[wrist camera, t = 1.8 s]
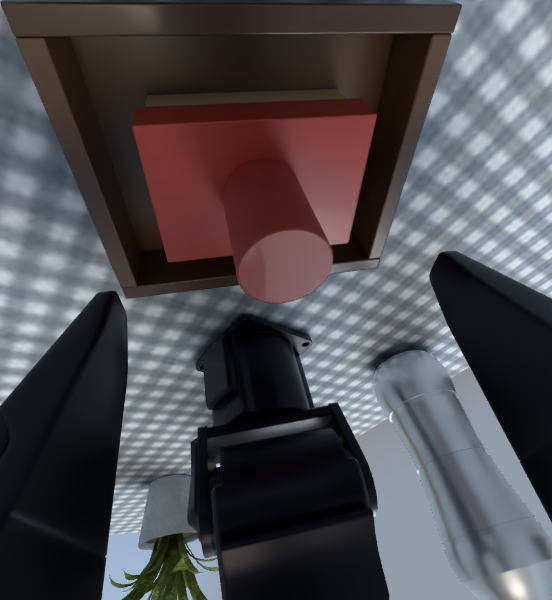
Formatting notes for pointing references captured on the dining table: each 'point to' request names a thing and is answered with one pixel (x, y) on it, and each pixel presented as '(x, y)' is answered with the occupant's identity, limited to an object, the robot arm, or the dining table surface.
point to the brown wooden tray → (223, 79)
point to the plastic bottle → (464, 484)
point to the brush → (256, 180)
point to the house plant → (167, 544)
